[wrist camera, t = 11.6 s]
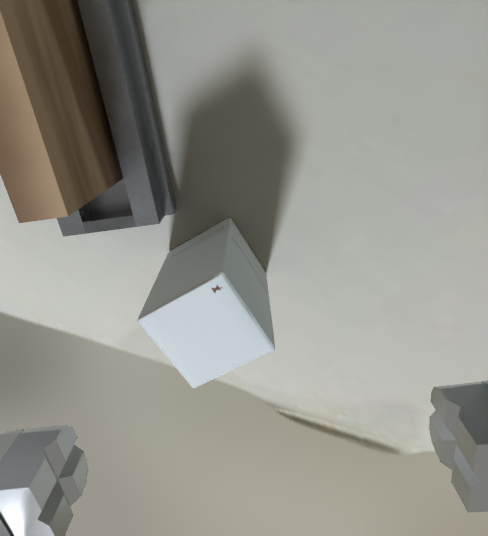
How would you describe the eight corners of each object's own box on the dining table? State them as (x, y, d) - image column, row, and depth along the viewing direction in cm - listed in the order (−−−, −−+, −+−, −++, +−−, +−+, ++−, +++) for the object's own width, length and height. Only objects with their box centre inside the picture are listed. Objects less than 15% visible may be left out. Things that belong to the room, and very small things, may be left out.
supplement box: (166, 251, 38) (132, 318, 27) (231, 214, 37) (224, 269, 25) (206, 308, 41) (191, 392, 29) (268, 276, 39) (278, 351, 28)
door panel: (75, -16, 28) (-32, -86, 17) (125, 177, 34) (68, 216, 23) (35, -9, 29) (-95, -74, 18) (92, 181, 34) (19, 223, 23)
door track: (112, -89, 28) (92, -117, 24) (176, 209, 37) (168, 222, 33) (-21, -65, 28) (-61, -88, 25) (73, 223, 37) (54, 237, 34)
